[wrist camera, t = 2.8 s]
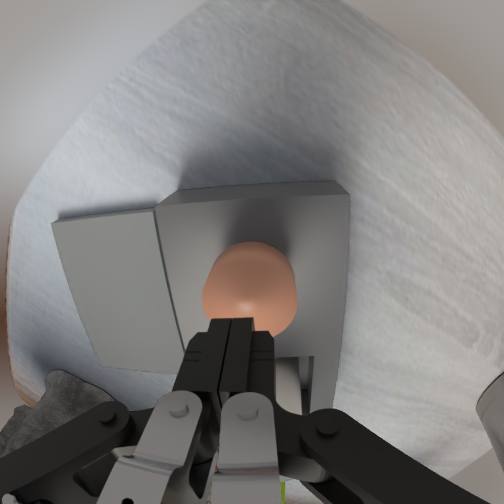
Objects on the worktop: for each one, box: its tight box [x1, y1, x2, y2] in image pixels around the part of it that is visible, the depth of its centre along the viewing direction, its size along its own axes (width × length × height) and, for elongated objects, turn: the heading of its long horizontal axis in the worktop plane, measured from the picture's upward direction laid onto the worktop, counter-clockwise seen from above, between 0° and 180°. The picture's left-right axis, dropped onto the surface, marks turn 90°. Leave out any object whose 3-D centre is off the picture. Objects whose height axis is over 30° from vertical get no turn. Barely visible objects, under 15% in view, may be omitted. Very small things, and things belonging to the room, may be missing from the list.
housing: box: [155, 181, 350, 416], centre depth 20 cm, size 10×18×4 cm, turn 4°
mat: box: [51, 208, 186, 374], centre depth 22 cm, size 9×14×1 cm, turn 4°
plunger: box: [202, 242, 297, 337], centre depth 15 cm, size 4×4×4 cm
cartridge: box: [217, 357, 302, 483], centre depth 19 cm, size 5×5×10 cm
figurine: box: [0, 370, 115, 469], centre depth 18 cm, size 10×14×25 cm
